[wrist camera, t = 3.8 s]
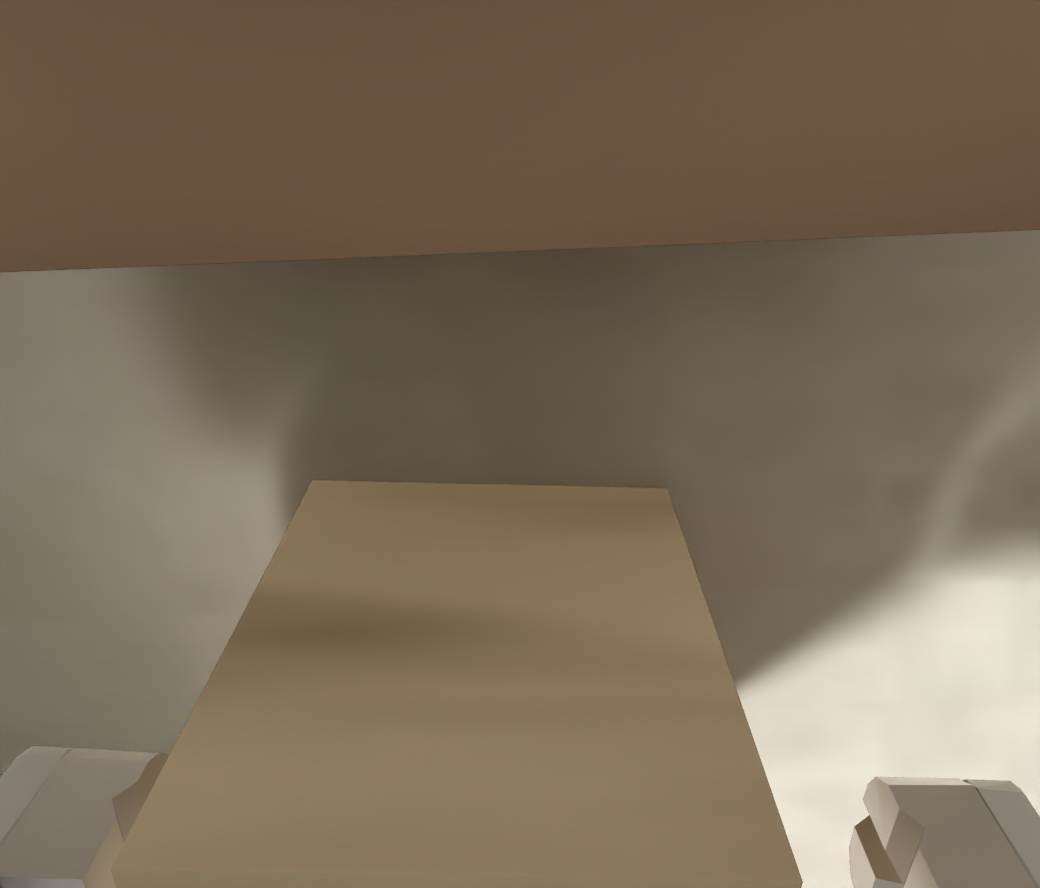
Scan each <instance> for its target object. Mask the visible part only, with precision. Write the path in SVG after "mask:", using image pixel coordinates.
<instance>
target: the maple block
mask: <svg viewBox="0 0 1040 888" xmlns="http://www.w3.org/2000/svg"><path fill="white" fill-rule="evenodd" d="M110 870H111V873H112V876H113V879H114V883H115V886H116V888H801V886H802V883H803V881H802V879H801V876H800V873H799V870H798V867H797V864H796V861H795V858H794V855H793V852H792V850H791V847H790V844H789V841H788V838H787V835H786V832H785V829H784V826H783V823H782V820H781V818H780V815H779V812H778V809H777V806H776V803H775V800H774V797H773V794H772V791H771V789H770V786H769V783H768V780H767V777H766V774H765V771H764V768H763V765H762V762H761V759H760V757H759V754H758V751H757V748H756V745H755V742H754V739H753V736H752V733H751V730H750V728H749V725H748V722H747V719H746V716H745V713H744V710H743V707H742V704H741V701H740V698H739V696H738V693H737V690H736V687H735V684H734V681H733V678H732V675H731V672H730V669H729V666H728V664H727V661H726V658H725V655H724V652H723V649H722V646H721V643H720V640H719V637H718V635H717V632H716V629H715V626H714V623H713V620H712V617H711V614H710V611H709V608H708V605H707V603H706V600H705V597H704V594H703V591H702V588H701V585H700V582H699V579H698V576H697V574H696V571H695V568H694V565H693V562H692V559H691V556H690V553H689V550H688V547H687V544H686V542H685V539H684V536H683V533H682V530H681V527H680V524H679V521H678V518H677V515H676V513H675V510H674V507H673V504H672V501H671V498H670V495H669V492H668V489H667V488H646V487H601V486H556V485H510V484H465V483H420V482H375V481H329V480H312V482H311V484H310V486H309V488H308V490H307V492H306V494H305V496H304V497H303V499H302V501H301V503H300V505H299V507H298V509H297V511H296V513H295V515H294V517H293V519H292V520H291V522H290V524H289V526H288V528H287V530H286V532H285V534H284V536H283V538H282V540H281V542H280V544H279V545H278V547H277V549H276V551H275V553H274V555H273V557H272V559H271V561H270V563H269V565H268V567H267V569H266V570H265V572H264V574H263V576H262V578H261V580H260V582H259V584H258V586H257V588H256V590H255V592H254V594H253V595H252V597H251V599H250V601H249V603H248V605H247V607H246V609H245V611H244V613H243V615H242V617H241V619H240V620H239V622H238V624H237V626H236V628H235V630H234V632H233V634H232V636H231V638H230V640H229V642H228V644H227V645H226V647H225V649H224V651H223V653H222V655H221V657H220V659H219V661H218V663H217V665H216V667H215V668H214V670H213V672H212V674H211V676H210V678H209V680H208V682H207V684H206V686H205V688H204V690H203V692H202V693H201V695H200V697H199V699H198V701H197V703H196V705H195V707H194V709H193V711H192V713H191V715H190V717H189V718H188V720H187V722H186V724H185V726H184V728H183V730H182V732H181V734H180V736H179V738H178V740H177V742H176V743H175V745H174V747H173V749H172V751H171V753H170V755H169V757H168V759H167V761H166V763H165V765H164V767H163V768H162V770H161V772H160V774H159V776H158V778H157V780H156V782H155V784H154V786H153V788H152V790H151V792H150V793H149V795H148V797H147V799H146V801H145V803H144V805H143V807H142V809H141V811H140V813H139V815H138V816H137V818H136V820H135V822H134V824H133V826H132V828H131V830H130V832H129V834H128V836H127V838H126V840H125V841H124V843H123V845H122V847H121V849H120V851H119V853H118V855H117V857H116V859H115V861H114V863H113V865H112V866H111V868H110Z"/></svg>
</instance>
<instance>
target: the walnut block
mask: <svg viewBox="0 0 1040 888" xmlns="http://www.w3.org/2000/svg"><path fill="white" fill-rule="evenodd" d="M1022 230H1040V0H0V272H20V271H44V270H69V269H93V268H118V267H142V266H167V265H191V264H215V263H240V262H264V261H289V260H313V259H338V258H362V257H386V256H411V255H435V254H460V253H484V252H509V251H533V250H558V249H582V248H606V247H631V246H655V245H680V244H704V243H729V242H753V241H777V240H802V239H826V238H851V237H875V236H900V235H924V234H948V233H973V232H997V231H1022Z"/></svg>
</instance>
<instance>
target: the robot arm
mask: <svg viewBox="0 0 1040 888" xmlns="http://www.w3.org/2000/svg"><path fill="white" fill-rule="evenodd" d="M167 759H168V755H166V754H161V753H152V752H136V751H120V750H104V749H88V748H63V747H44V746H31V747H30V748H28V749H27V750H25V751H24V752H22V753H21V754H19V755H18V756H17V757H16V758H15V759H14V761H13V762H12V763H11V765H10V766H9V767H8V768H7V770H6V771H5V772H4V774H3V775H2V776H1V778H0V888H116V886H115V883H114V879H113V876H112V873H111V870H110V868H111V866H112V865H113V863H114V861H115V859H116V857H117V855H118V853H119V851H120V849H121V847H122V845H123V843H124V841H125V840H126V838H127V836H128V834H129V832H130V830H131V828H132V826H133V824H134V822H135V820H136V818H137V816H138V815H139V813H140V811H141V809H142V807H143V805H144V803H145V801H146V799H147V797H148V795H149V793H150V792H151V790H152V788H153V786H154V784H155V782H156V780H157V778H158V776H159V774H160V772H161V770H162V768H163V767H164V765H165V763H166V761H167ZM863 801H864V803H865V806H866V808H867V810H868V813H869V816H868V817H867V818H865V819H864V820H863V821H861V822H860V823H859V824H857V825H856V826H855V827H854V831H853V834H852V838H851V842H850V846H849V854H850V874H851V878H852V882H853V887H854V888H1040V816H1039V815H1038V814H1037V812H1036V811H1035V809H1034V808H1033V806H1032V805H1031V803H1030V802H1029V800H1028V799H1027V797H1026V796H1025V794H1024V793H1023V792H1022V790H1021V789H1020V788H1019V787H1017V786H1016V785H1015V784H1013V783H1012V782H1011V781H998V780H966V779H965V780H960V779H950V778H905V777H875V778H874V779H873V780H872V781H871V782H870V783H869V784H868V786H867V789H866V792H865V795H864V798H863Z"/></svg>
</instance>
